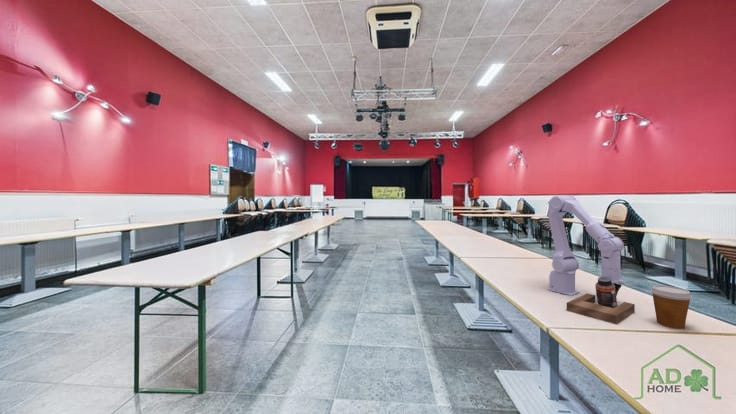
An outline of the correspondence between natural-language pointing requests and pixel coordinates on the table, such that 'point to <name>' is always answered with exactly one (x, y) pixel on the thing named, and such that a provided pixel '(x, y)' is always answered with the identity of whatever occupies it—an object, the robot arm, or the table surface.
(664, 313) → the disposable coffee cup
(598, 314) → the brown u-shaped wooden block
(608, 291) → the supplement bottle
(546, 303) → the table surface
